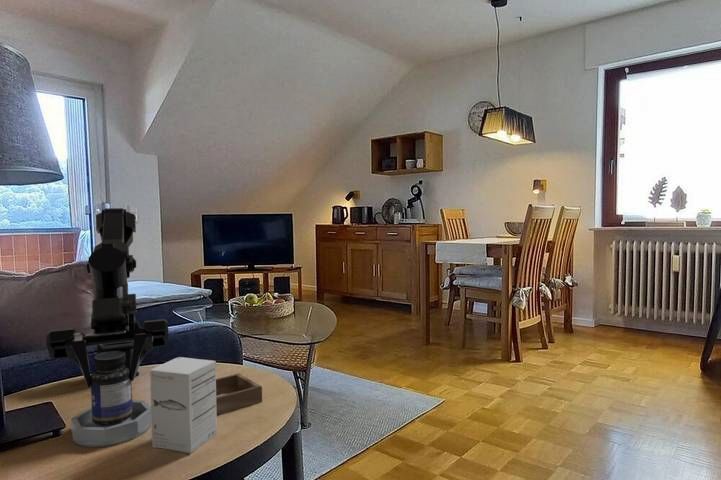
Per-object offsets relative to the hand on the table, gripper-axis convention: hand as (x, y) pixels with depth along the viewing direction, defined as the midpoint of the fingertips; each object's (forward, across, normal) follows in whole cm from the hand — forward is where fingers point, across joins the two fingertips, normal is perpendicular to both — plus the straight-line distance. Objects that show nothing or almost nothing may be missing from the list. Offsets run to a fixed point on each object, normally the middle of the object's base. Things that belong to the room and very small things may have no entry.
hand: (110, 382), depth 79 cm
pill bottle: (+4, 0, +6) cm, 7 cm away
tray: (+5, 0, +7) cm, 9 cm away
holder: (+2, +20, +10) cm, 22 cm away
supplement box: (+12, +11, 0) cm, 16 cm away
